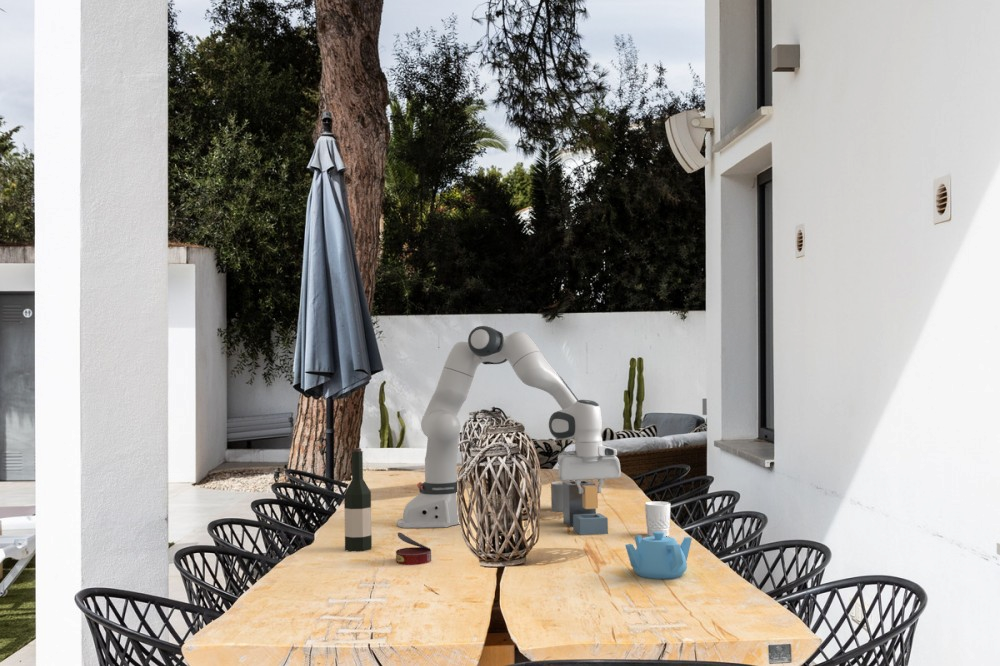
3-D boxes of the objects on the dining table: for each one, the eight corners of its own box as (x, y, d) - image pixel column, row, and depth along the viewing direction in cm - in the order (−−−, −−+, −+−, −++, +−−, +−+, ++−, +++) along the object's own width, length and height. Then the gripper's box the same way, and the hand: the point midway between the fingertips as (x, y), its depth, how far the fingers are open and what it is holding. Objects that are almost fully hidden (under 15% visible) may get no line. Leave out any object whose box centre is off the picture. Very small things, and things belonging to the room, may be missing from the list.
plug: (585, 509, 296) (585, 487, 296) (582, 507, 300) (582, 485, 300) (597, 508, 297) (597, 486, 297) (594, 506, 301) (593, 484, 301)
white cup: (673, 533, 292) (673, 502, 293) (667, 538, 285) (666, 505, 285) (649, 532, 296) (648, 500, 296) (642, 536, 288) (641, 504, 289)
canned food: (399, 575, 262) (397, 541, 267) (434, 571, 262) (432, 537, 267) (392, 565, 252) (390, 529, 257) (428, 560, 252) (426, 525, 257)
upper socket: (569, 527, 307) (568, 484, 307) (563, 522, 315) (562, 481, 316) (596, 526, 308) (595, 483, 309) (589, 521, 317) (588, 480, 317)
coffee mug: (552, 512, 337) (552, 484, 337) (550, 508, 347) (550, 481, 347) (589, 511, 337) (588, 484, 338) (586, 507, 347) (585, 480, 347)
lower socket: (580, 535, 293) (580, 519, 293) (573, 530, 302) (573, 514, 302) (607, 533, 294) (607, 517, 294) (600, 528, 303) (599, 513, 303)
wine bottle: (349, 552, 272) (348, 450, 273) (340, 547, 280) (339, 448, 280) (376, 549, 276) (374, 448, 277) (367, 544, 283) (365, 446, 284)
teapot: (622, 578, 235) (621, 536, 235) (635, 565, 249) (634, 525, 249) (683, 583, 229) (682, 539, 229) (693, 569, 243) (692, 528, 244)
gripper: (559, 452, 294) (560, 496, 294) (621, 450, 297) (622, 493, 297) (555, 450, 300) (556, 493, 300) (616, 448, 304) (617, 490, 303)
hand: (589, 493), depth 299 cm, fingers closed on plug, 4 cm apart
